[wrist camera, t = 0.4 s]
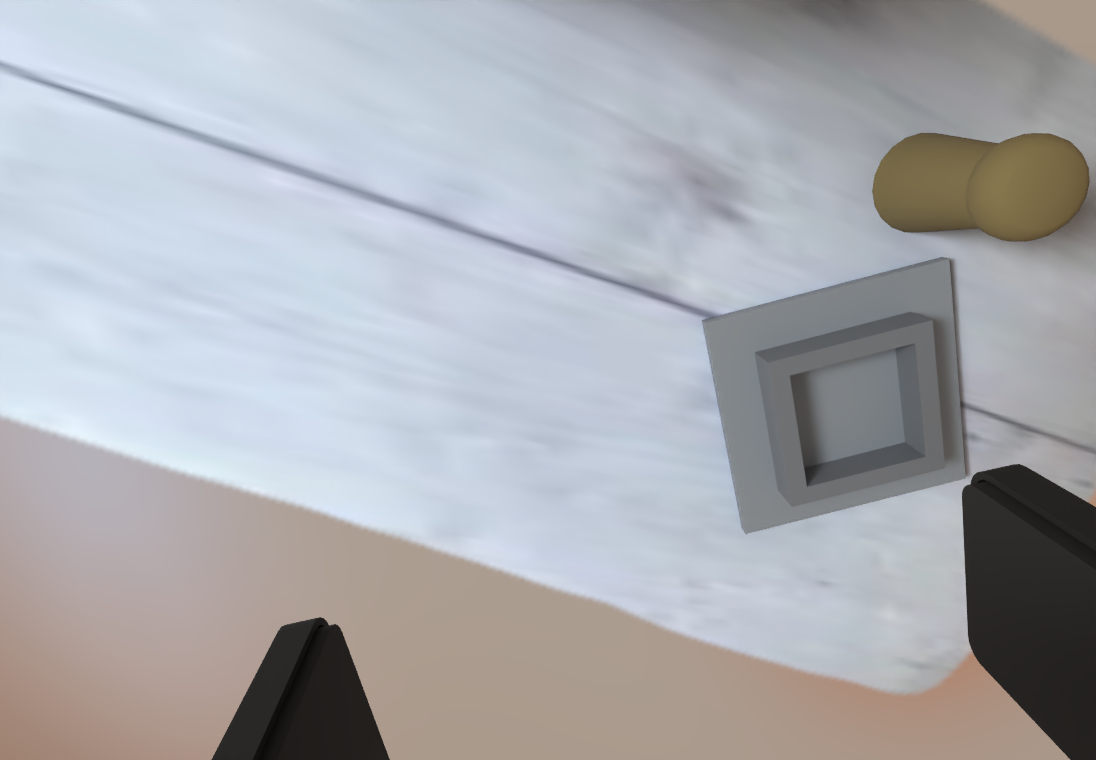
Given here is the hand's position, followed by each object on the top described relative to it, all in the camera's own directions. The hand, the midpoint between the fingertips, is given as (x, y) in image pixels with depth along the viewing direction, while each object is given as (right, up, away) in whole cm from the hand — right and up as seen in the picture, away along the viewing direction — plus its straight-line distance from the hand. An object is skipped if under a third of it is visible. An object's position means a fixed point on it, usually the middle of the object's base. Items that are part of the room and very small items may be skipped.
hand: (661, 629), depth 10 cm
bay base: (+18, +2, +37) cm, 41 cm away
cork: (+22, +16, +33) cm, 43 cm away
